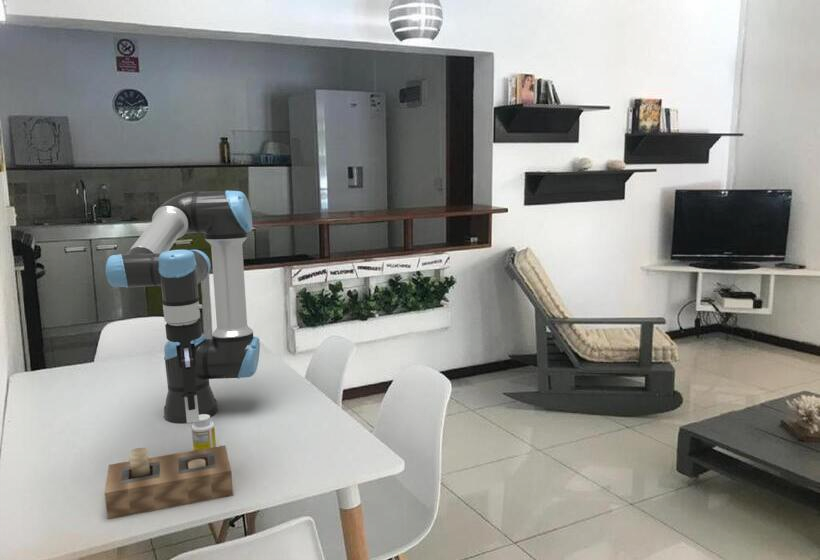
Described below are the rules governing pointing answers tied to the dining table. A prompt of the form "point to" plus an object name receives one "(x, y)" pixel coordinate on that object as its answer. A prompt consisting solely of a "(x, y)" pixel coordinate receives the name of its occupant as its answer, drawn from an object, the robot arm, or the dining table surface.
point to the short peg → (196, 463)
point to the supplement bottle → (203, 433)
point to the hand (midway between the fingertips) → (193, 420)
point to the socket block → (168, 482)
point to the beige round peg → (139, 463)
